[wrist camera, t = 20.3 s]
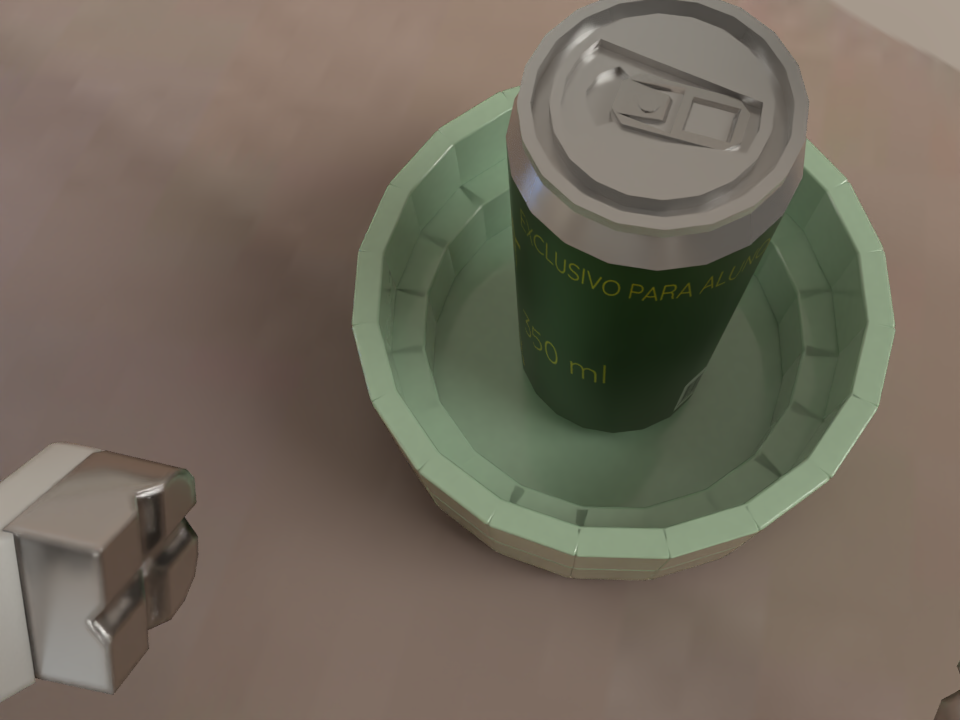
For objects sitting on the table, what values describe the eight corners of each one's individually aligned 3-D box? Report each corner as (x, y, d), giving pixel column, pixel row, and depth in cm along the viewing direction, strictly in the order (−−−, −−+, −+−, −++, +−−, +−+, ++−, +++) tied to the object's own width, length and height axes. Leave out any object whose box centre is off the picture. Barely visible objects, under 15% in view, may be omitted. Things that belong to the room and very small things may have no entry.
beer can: (724, 301, 27) (856, 18, 15) (672, 465, 25) (779, 284, 14) (554, 250, 28) (562, -51, 16) (494, 405, 26) (457, 189, 15)
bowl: (297, 400, 27) (246, 339, 22) (556, 101, 30) (558, -7, 26) (665, 685, 23) (695, 685, 19) (914, 313, 27) (993, 233, 22)
